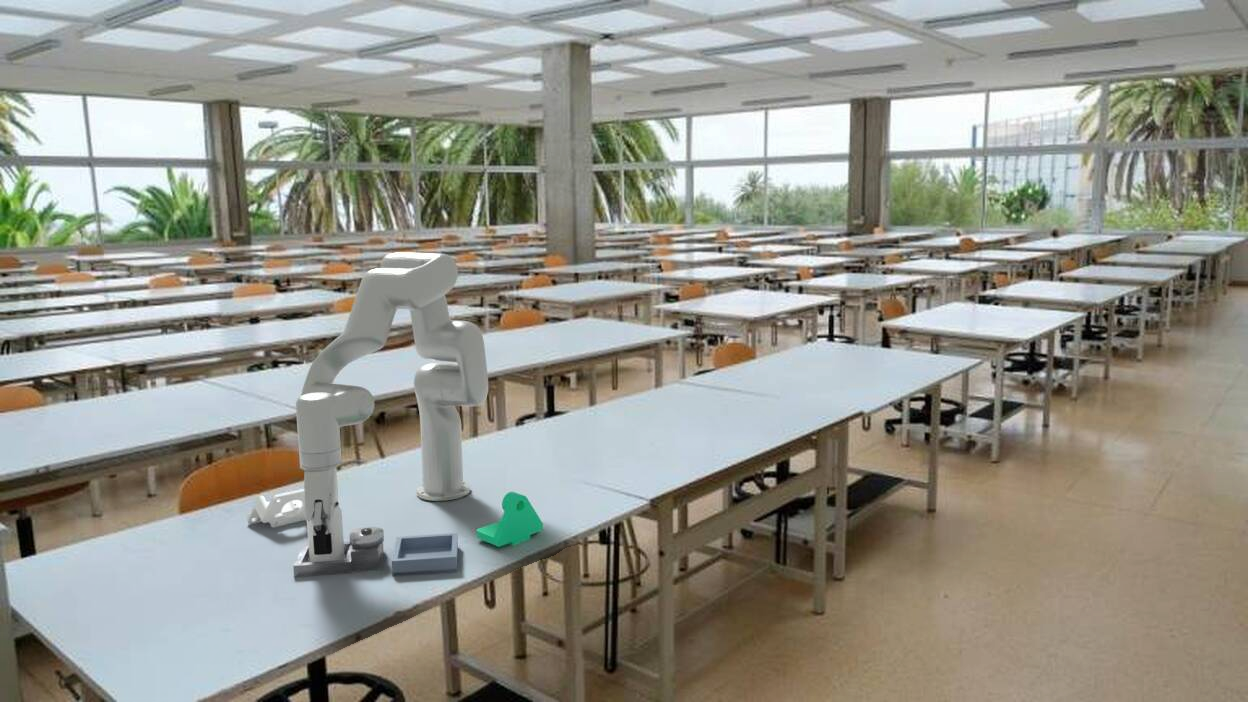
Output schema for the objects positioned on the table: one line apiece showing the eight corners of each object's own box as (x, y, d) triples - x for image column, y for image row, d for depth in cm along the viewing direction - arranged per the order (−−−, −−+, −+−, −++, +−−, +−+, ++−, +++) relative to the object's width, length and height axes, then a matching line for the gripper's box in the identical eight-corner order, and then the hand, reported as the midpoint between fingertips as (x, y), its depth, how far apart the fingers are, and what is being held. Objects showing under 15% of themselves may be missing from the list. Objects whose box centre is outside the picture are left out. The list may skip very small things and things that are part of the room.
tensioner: (304, 554, 176) (302, 524, 174) (387, 549, 178) (385, 519, 177) (294, 576, 166) (291, 544, 164) (382, 570, 168) (380, 539, 167)
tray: (397, 550, 177) (396, 536, 177) (458, 546, 179) (457, 533, 179) (392, 576, 166) (391, 561, 165) (456, 571, 168) (456, 556, 167)
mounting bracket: (254, 539, 189) (257, 501, 184) (245, 520, 193) (248, 482, 188) (309, 526, 196) (314, 489, 191) (299, 507, 200) (304, 471, 195)
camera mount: (519, 525, 191) (517, 480, 189) (542, 534, 186) (542, 488, 184) (475, 542, 183) (473, 494, 181) (498, 551, 177) (497, 503, 176)
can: (348, 556, 175) (345, 498, 173) (339, 570, 168) (335, 510, 166) (315, 557, 175) (311, 499, 172) (305, 570, 168) (301, 511, 166)
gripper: (308, 445, 175) (314, 531, 179) (290, 472, 159) (297, 566, 162) (347, 444, 177) (352, 528, 180) (334, 470, 160) (339, 563, 163)
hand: (326, 545), depth 171 cm, fingers closed on can, 6 cm apart
